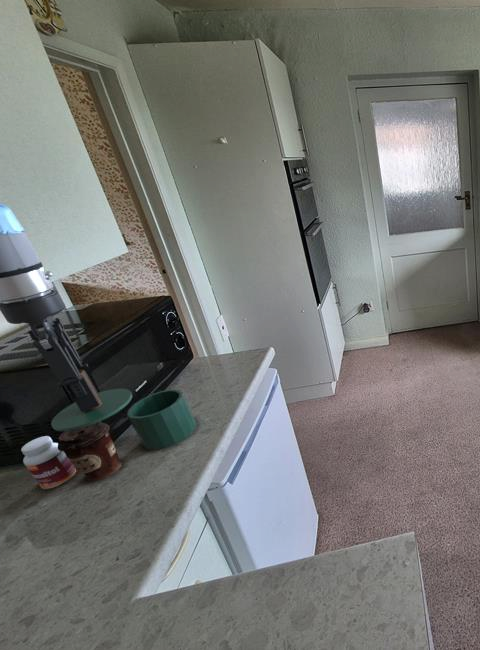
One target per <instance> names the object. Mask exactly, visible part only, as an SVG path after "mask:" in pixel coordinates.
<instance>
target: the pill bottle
mask: <svg viewBox="0 0 480 650" xmlns="http://www.w3.org/2000/svg"><path fill="white" fill-rule="evenodd" d="M58 443H59V442H54V441H53V439H52V437H50V436H49V435H45V436H43V435H42V436H40V437H37V438H35V439H32V440H31V441H28V442H27V443H25V444H24V445H23V446H22V447H21V449H20V451H21V453H22V454H23V455H24V457H23V459H22V462H23V464H24V466H25V467H26V469H27V470H28V471H29V473H30V474H31V476H32V478H33V479H34V480H35V481H36V483H37V484H38V485H39V487H40V488H41V489H42V490H49V489H53V488H55V487H58V486H60V485H61V484H64V483H66V482H67V481H69V480H70V479H71V478H72V477H73V476H74V475H76V473H77V467H76V466H75V465H74V464H72V462H71V461H70V460H69V459H68V458H67V456H66V454H65V453H64V452H63V451H59V450H58Z"/></svg>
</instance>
